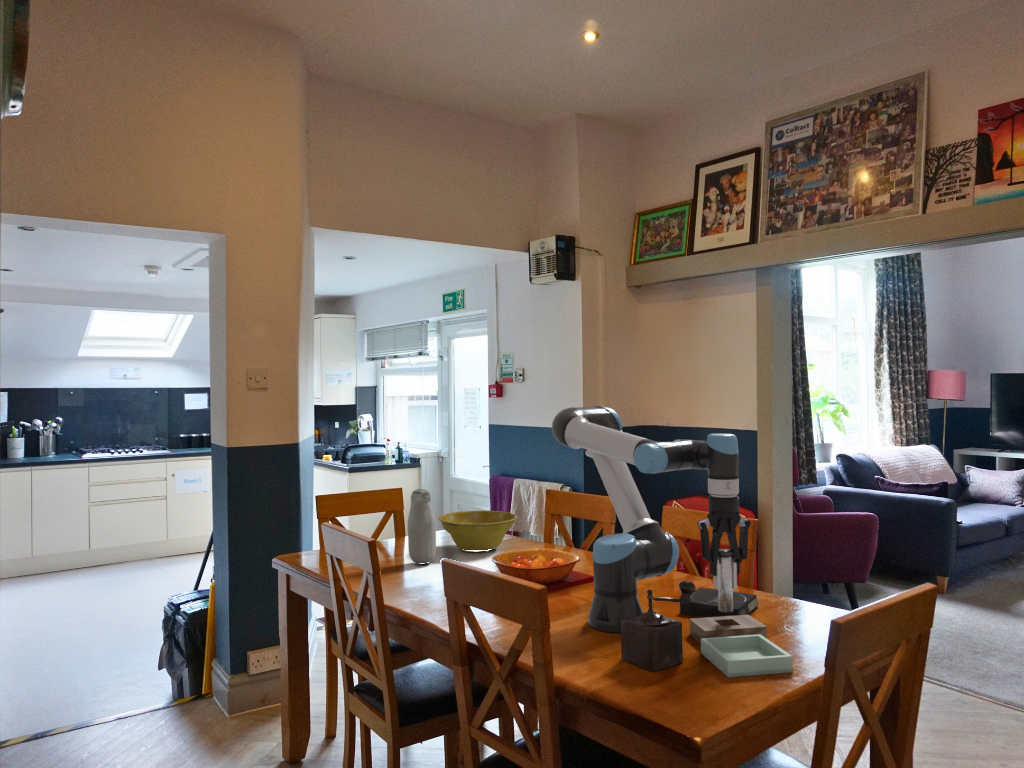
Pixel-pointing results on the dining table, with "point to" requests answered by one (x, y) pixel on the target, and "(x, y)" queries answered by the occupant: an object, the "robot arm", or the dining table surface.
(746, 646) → the tray
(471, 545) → the planter bowl
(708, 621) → the block
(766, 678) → the dining table surface
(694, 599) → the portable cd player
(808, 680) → the dining table surface
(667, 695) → the dining table surface
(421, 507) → the grey bottle
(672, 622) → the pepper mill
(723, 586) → the clear capped cylinder
